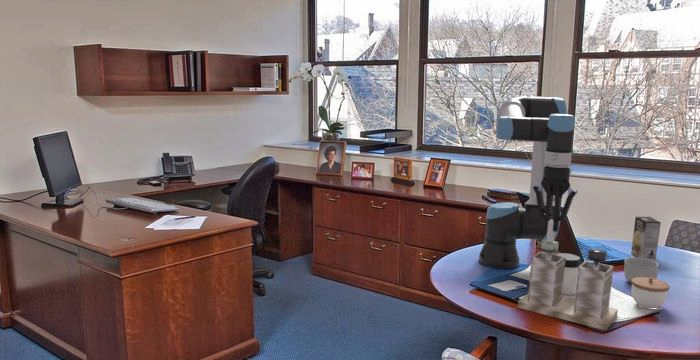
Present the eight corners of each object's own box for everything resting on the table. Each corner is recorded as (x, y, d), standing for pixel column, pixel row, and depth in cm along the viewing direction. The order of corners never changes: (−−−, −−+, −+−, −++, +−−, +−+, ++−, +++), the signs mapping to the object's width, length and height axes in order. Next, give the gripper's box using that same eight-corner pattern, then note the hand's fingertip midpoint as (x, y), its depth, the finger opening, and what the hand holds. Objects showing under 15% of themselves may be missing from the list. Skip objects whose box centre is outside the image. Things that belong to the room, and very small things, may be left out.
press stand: (517, 307, 181) (521, 258, 179) (532, 294, 193) (537, 248, 190) (606, 330, 166) (612, 277, 164) (617, 315, 178) (622, 265, 175)
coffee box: (630, 253, 242) (634, 216, 240) (645, 253, 242) (650, 216, 240) (640, 260, 233) (645, 221, 231) (656, 260, 233) (661, 222, 230)
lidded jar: (622, 299, 191) (625, 272, 189) (653, 299, 192) (657, 272, 190) (641, 312, 180) (644, 283, 179) (673, 312, 181) (677, 283, 180)
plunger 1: (531, 295, 182) (536, 242, 179) (538, 289, 187) (543, 238, 184) (552, 300, 179) (557, 246, 175) (558, 294, 184) (563, 242, 181)
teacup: (660, 289, 201) (663, 267, 199) (626, 286, 203) (629, 264, 201) (648, 276, 214) (650, 255, 213) (616, 273, 216) (619, 253, 215)
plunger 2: (577, 306, 174) (583, 251, 171) (583, 300, 179) (589, 246, 176) (600, 312, 170) (606, 255, 167) (605, 305, 176) (611, 250, 172)
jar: (583, 293, 195) (587, 259, 193) (565, 296, 192) (569, 262, 189) (563, 284, 203) (566, 251, 201) (545, 287, 200) (548, 254, 197)
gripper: (531, 164, 176) (525, 239, 181) (576, 169, 169) (568, 247, 173) (539, 161, 182) (533, 234, 187) (583, 166, 175) (575, 242, 179)
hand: (550, 240), depth 180 cm, fingers closed
